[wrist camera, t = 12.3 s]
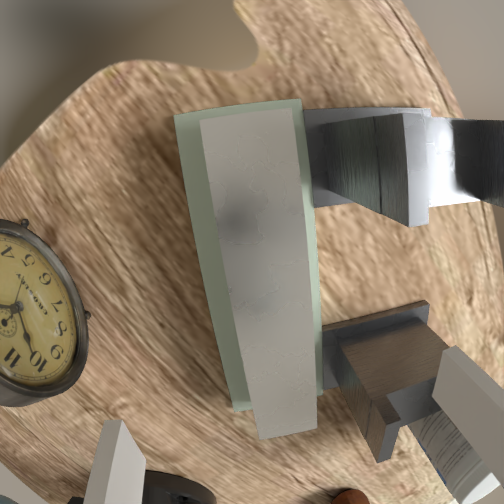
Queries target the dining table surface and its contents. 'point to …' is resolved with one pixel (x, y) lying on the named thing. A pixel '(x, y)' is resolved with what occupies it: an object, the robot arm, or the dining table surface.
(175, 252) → the dining table surface
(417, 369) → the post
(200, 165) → the mat
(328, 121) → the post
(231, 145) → the rail
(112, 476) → the robot arm
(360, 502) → the potato
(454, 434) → the supplement tub
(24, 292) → the alarm clock
